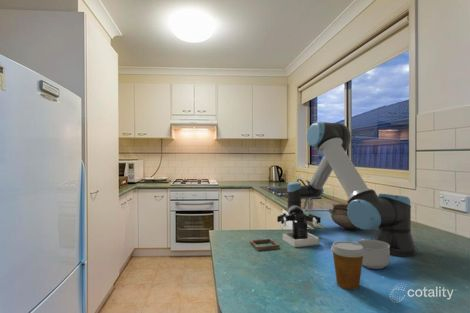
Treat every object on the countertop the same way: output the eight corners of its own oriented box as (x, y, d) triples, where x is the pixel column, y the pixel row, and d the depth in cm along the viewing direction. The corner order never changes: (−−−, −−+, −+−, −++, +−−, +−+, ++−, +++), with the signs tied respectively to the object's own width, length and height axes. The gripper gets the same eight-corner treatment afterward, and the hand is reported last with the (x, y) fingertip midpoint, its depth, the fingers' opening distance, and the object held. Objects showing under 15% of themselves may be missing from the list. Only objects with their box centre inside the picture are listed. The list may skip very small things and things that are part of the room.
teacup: (394, 273, 93) (394, 249, 93) (360, 270, 95) (359, 247, 96) (381, 258, 107) (381, 237, 107) (351, 256, 109) (351, 236, 109)
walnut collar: (279, 248, 119) (279, 245, 119) (257, 250, 116) (257, 247, 116) (270, 241, 129) (270, 238, 129) (249, 243, 126) (249, 240, 126)
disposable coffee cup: (371, 291, 80) (371, 249, 80) (339, 293, 80) (339, 250, 80) (354, 277, 90) (354, 240, 90) (326, 278, 89) (325, 241, 89)
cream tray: (319, 244, 124) (319, 238, 124) (294, 247, 121) (294, 240, 121) (305, 237, 135) (305, 231, 135) (282, 239, 132) (282, 233, 132)
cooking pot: (380, 229, 149) (380, 207, 149) (363, 236, 137) (363, 211, 137) (337, 221, 168) (337, 201, 168) (319, 226, 156) (319, 205, 156)
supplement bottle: (290, 238, 131) (290, 213, 131) (304, 238, 132) (304, 213, 132) (295, 243, 124) (294, 216, 125) (309, 242, 125) (309, 216, 125)
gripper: (320, 221, 145) (329, 232, 124) (272, 220, 148) (272, 231, 127) (320, 207, 146) (329, 215, 124) (272, 206, 149) (272, 214, 127)
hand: (300, 223), depth 126 cm, fingers open, 13 cm apart
